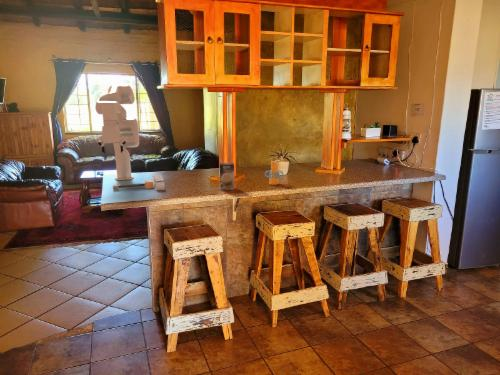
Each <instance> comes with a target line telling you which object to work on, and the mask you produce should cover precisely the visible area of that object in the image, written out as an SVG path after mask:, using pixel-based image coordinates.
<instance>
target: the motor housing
mask: <svg viewBox="0 0 500 375" xmlns="http://www.w3.org/2000/svg"><path fill="white" fill-rule="evenodd" d="M152 179H153V180H152V181H153V185H154V188H155V190H156V191H165V189H166V188H165V187H166V186H165V185H166V184H165V179H164V178H163V176H162V174H153V175H152Z"/></svg>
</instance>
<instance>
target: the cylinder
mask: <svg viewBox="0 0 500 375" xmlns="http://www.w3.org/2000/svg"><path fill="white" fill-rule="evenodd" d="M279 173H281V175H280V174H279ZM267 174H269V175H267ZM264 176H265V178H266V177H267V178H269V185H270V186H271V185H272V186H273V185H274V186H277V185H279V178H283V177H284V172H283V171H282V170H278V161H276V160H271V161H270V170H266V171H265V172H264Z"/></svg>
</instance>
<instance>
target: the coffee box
mask: <svg viewBox="0 0 500 375" xmlns="http://www.w3.org/2000/svg"><path fill="white" fill-rule="evenodd" d="M233 190H234V191H235V163H234V162H219V191H233Z"/></svg>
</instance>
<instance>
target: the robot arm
mask: <svg viewBox="0 0 500 375" xmlns="http://www.w3.org/2000/svg"><path fill="white" fill-rule="evenodd" d="M135 98H136V97H135V93H134V91H133V88H132V87H131V86H130V85H129V84H112V85H110V86H109V87H108V91H107V93H105V94H103V95H101V96H99V97H97V99H96V101H95V106H94V108H95V111H96V113H97V114H98V115H102V122H103V126H101V127H102V128H101V135H100V136H99V137H97V138H96V139H95V142H96V143H97V144H98V146H100V147H101V152H102V153H103V154H104V155H105V154H106V150H105V145H106V144H113V148H114V155H115V156H114V157H115V167H116V176H115V177H114V179H115V180H116V181H129V180H133V179H134V178H135V177H134V176H135V175H132V165H131V155H130V151H129V150H127V148H137V147H139V145H140V134H139V132H140V131H139V130H140V129H139V123H138V122H139V121H138V120H137V119H136V118H134V117H127V110H126V109H125V107H124V106H123V105H133V104H134V103H135ZM100 140H102V143H101V142H100Z"/></svg>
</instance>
